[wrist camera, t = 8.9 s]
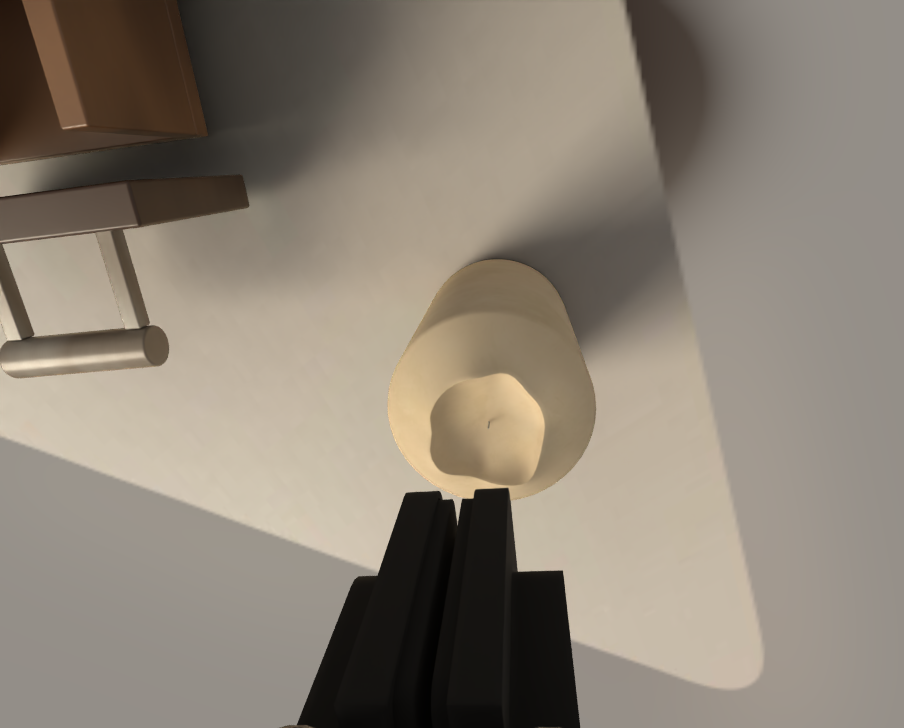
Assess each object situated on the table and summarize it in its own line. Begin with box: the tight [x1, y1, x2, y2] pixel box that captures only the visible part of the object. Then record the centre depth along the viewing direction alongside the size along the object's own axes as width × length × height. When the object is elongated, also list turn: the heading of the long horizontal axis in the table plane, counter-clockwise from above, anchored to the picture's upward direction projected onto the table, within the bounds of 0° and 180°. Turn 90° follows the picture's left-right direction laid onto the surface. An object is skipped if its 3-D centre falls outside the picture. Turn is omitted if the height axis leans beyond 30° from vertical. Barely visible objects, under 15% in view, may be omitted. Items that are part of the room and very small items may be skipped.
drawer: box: [0, 0, 249, 378], centre depth 18 cm, size 18×11×7 cm, turn 7°
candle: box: [388, 259, 596, 501], centre depth 19 cm, size 6×6×10 cm
